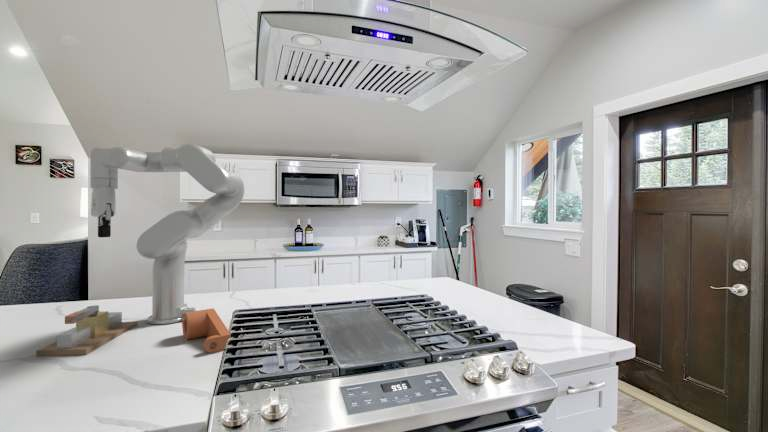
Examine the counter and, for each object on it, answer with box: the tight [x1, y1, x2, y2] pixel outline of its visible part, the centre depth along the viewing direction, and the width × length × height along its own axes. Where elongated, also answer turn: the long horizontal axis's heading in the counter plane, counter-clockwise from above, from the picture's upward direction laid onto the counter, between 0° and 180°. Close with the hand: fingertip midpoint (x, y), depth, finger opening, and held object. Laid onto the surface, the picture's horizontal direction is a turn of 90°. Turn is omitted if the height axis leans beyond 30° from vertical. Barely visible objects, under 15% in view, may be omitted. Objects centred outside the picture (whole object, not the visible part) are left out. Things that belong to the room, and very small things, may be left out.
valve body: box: [56, 310, 123, 349], centre depth 107 cm, size 22×5×6 cm, turn 7°
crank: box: [181, 308, 232, 354], centre depth 106 cm, size 20×8×8 cm, turn 41°
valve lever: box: [64, 304, 100, 325], centre depth 102 cm, size 12×3×2 cm, turn 13°
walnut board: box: [35, 321, 138, 357], centre depth 107 cm, size 24×12×2 cm, turn 7°
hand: (104, 236), depth 125 cm, fingers closed
